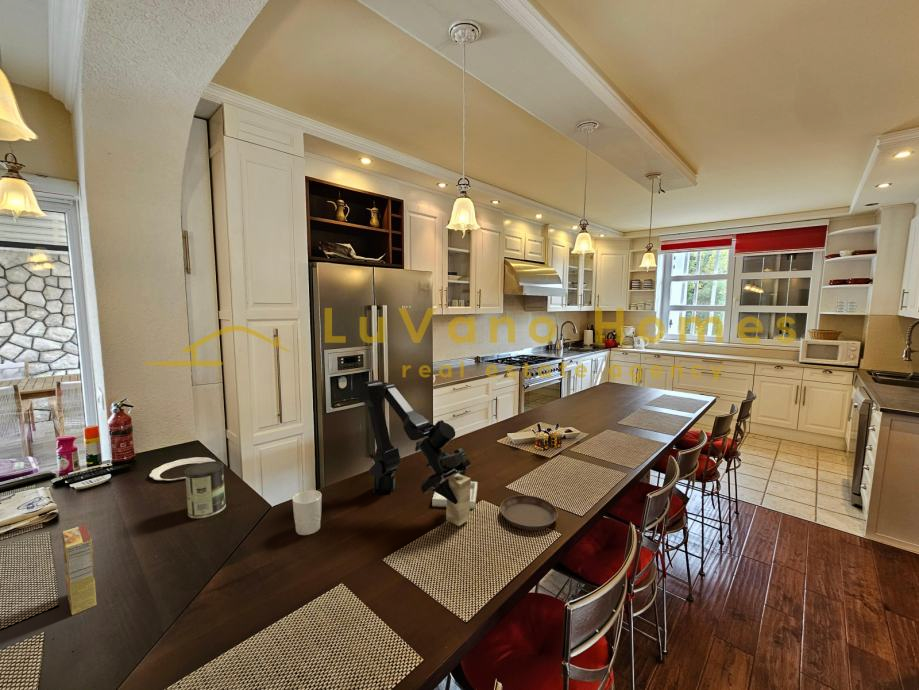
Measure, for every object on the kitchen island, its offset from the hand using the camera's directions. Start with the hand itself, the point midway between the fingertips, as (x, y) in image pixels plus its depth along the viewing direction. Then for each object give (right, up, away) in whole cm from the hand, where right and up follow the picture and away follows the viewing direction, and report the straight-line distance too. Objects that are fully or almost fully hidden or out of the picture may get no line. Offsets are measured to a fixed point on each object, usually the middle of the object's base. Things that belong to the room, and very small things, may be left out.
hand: (462, 499), depth 116 cm
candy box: (-84, -10, -30) cm, 90 cm away
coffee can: (-82, -6, +7) cm, 82 cm away
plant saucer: (+21, -8, +5) cm, 23 cm away
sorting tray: (-2, -6, +17) cm, 18 cm away
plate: (-109, -3, +36) cm, 115 cm away
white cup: (-45, -8, -2) cm, 46 cm away
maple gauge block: (-1, -7, +1) cm, 7 cm away
